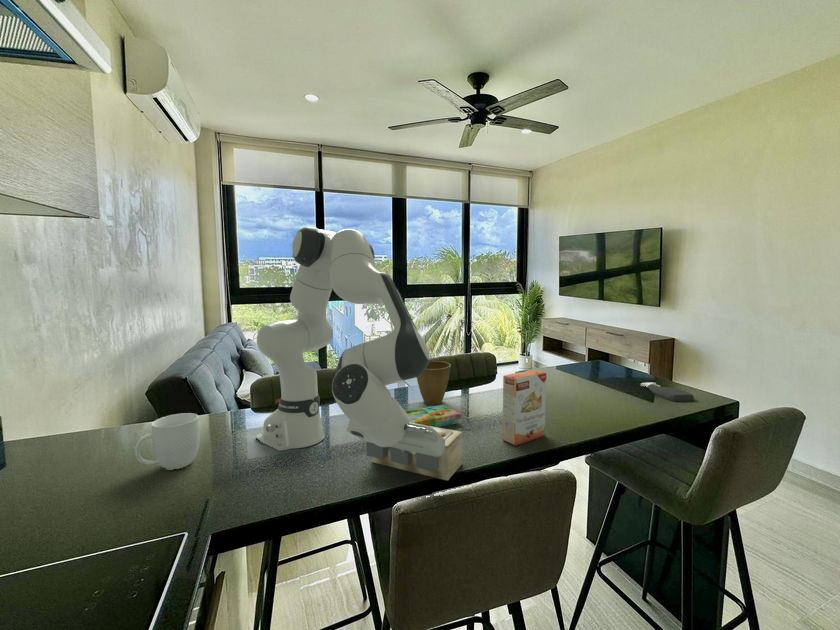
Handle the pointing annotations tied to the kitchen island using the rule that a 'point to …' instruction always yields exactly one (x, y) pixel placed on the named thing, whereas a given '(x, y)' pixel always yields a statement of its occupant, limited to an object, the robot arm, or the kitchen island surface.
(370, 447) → the button left
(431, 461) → the button right
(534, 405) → the cracker box
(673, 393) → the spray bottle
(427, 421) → the puzzle game
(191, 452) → the mug
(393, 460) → the button middle
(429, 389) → the plant pot
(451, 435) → the console
